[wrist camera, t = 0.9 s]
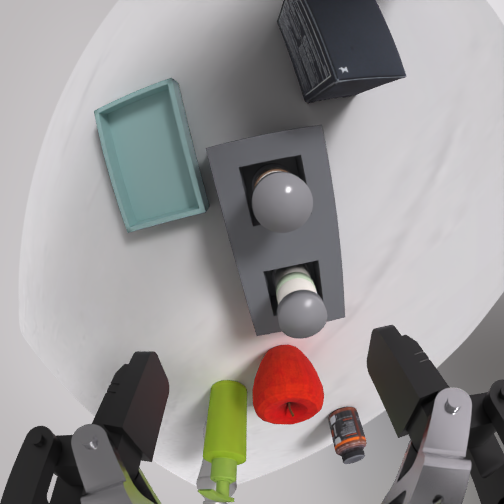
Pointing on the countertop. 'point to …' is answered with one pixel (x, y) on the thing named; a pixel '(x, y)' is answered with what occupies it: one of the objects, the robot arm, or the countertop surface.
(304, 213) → the fuse
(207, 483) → the plastic bottle
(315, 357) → the countertop surface
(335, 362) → the countertop surface
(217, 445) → the soap dispenser
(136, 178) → the tray
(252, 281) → the block
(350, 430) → the supplement bottle
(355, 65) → the small box
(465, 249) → the countertop surface
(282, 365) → the apple
